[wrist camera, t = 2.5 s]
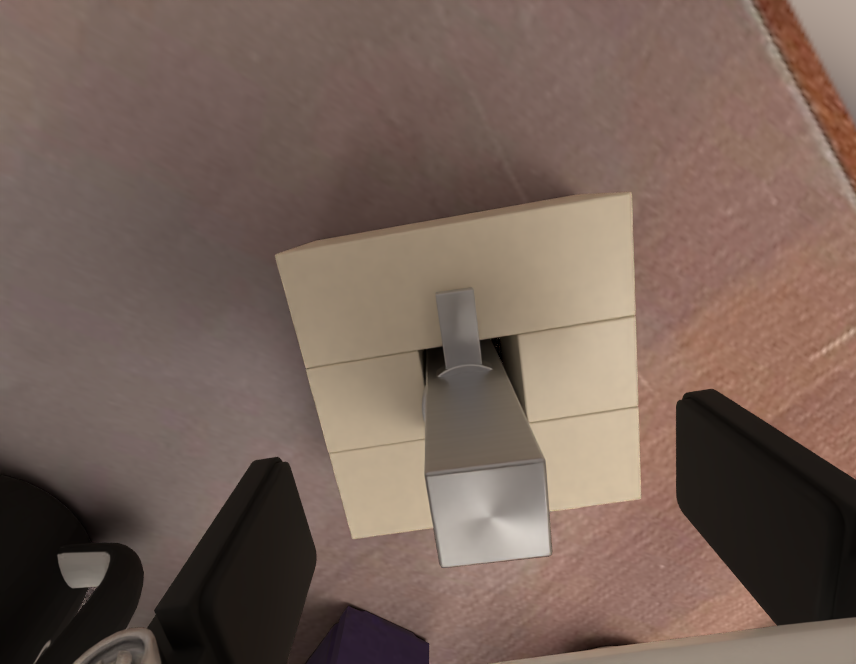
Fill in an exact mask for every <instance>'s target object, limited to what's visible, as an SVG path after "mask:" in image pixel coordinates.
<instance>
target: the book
mask: <svg viewBox="0 0 856 664" xmlns="http://www.w3.org/2000/svg"><path fill="white" fill-rule="evenodd" d="M306 664H429V643H427V642H425V641H423V640H421V639H419V638H417V637H416V636H415V635H414V633H412V632H410V631H408V630H405V629H403V628H401V627H399V626H397V625H395V624H392V623H390V622H388V621H386V620H384V619H382V618H380V617H377V616H375V615H373V614H371V613H369V612H367V611H358V610H356V609H354V608H352V607H350V606H348V607H347V608H346V610H345V611H344V612H343V614H342V615H341V616H340V619H339V623H337V624H335V625H334V626H333V627H332V629H331V630H330V631H329V633H328V634H327V635H326V637H325V638H324V639H323V641H322V642H321V644H320V645H319V646H318V648H317V649H316V650H315V652H314V653H313V654H312V656H311V657H310V659H309V660H308V661H307V663H306Z"/></svg>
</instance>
